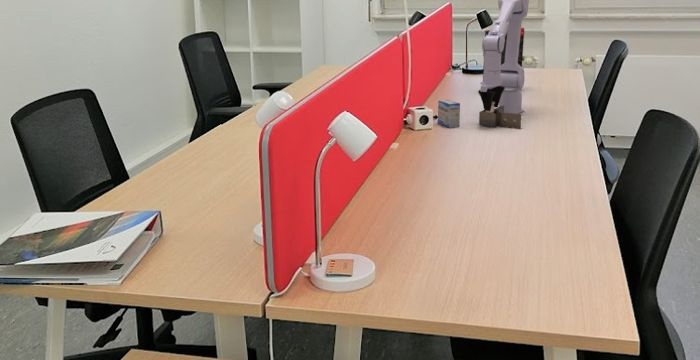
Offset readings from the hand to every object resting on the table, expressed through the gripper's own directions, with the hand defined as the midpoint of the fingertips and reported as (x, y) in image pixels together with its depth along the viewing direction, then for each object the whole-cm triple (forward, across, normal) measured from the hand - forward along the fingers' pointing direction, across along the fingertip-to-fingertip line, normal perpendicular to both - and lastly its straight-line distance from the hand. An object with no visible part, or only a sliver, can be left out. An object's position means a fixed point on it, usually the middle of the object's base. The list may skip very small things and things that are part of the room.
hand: (491, 108), depth 269 cm
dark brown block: (+6, -4, 0) cm, 7 cm away
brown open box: (+6, 0, +4) cm, 7 cm away
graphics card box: (+6, -55, -19) cm, 59 cm away
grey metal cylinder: (+6, 0, 0) cm, 6 cm away
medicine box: (+6, +7, -13) cm, 16 cm away
